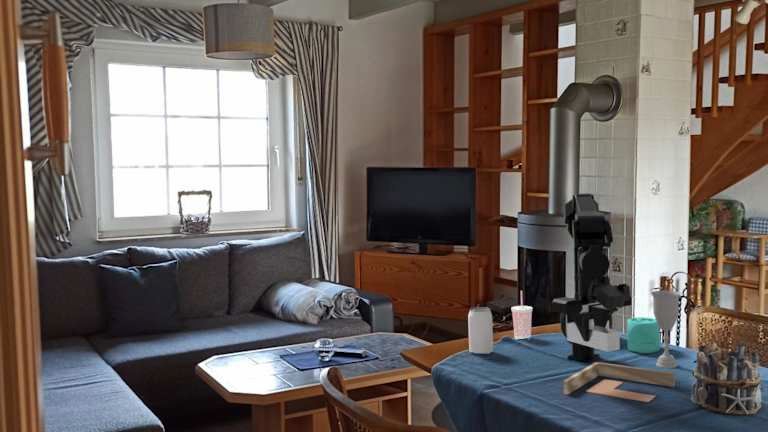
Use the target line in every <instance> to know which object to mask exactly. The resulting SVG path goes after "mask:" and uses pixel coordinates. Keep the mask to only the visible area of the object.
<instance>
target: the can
mask: <svg viewBox="0 0 768 432" xmlns="http://www.w3.org/2000/svg"><path fill="white" fill-rule="evenodd" d="M467 318H468V319H467V321H468V322H467V323H468V325H467V326H468V352H469V353H470V352H474V353H491V352H492V353H493V352H494V340H493V339H494V337H493V334H494V333H493V332H494V331H493V315H492V311H491V308H489V307H485V306H484V307H483V306H477V307H476V306H475V307H470V308H469V312H468V315H467ZM492 353H491V354H492Z"/></svg>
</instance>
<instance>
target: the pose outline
mask: <svg viewBox="0 0 768 432" xmlns="http://www.w3.org/2000/svg"><path fill="white" fill-rule="evenodd" d="M622 384H624V382H623V381H618V380H617V381H616V380H612V379H603V380H600V381H599V382H598V383H596V384H595V385H593V386H591V387H590V388H588V389H587V390H586V391H585V393H590V394H596V395H601V396H608V397H614V398H620V399H626V400H633V401H639V402H644V403H649V402H651V401H652V400H654V399H655V398H656V396H657V395H654V394H653V395H652V394H646V393H640V392H636V391H635V392H634V391H628V390H623V389H622V390H621V389H617V388H618V387H619V386H621V385H622Z"/></svg>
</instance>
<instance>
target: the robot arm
mask: <svg viewBox="0 0 768 432" xmlns="http://www.w3.org/2000/svg"><path fill="white" fill-rule="evenodd" d="M594 196H595V195H594V194H591V193H575V194H572V196H571V199H570V200H568V201H567V203H565V204H564V209H563V223H564V225H566V230H567V233H568V234H569V235H570V237H571V239H572V240H573V242H572V243H573V246H572V247H573V277H574V279H573V280H574V281H573V286H574V287H573V288H574V291H573V292H574V296H573V297H568V296H565V297H558V298H557V297H556V298H554V299H553V300H552V301H551V312H555V313H558V314H560V313H562V314H566V334H567V323H572V322H575V324H576V326H577V328H578V330H579V332H580V334H581V336H582V338H583V340H584V341H585V342H588V339H589V320H591V319H593V321H594V325H595V326H600V327H604V328H605V327H606V324H607V322H608V319H609V317H610V315H612V316H613V314H614V313H616V312H617V311H619V309H622V308H623V307H628V306H629V307H630V306H632V296H631V289H630V288H631V287H630V285H629V284H627V283H620V284H618V285H613V284H611V279H610V276H609V275H606V274H607V273H608V271H609V270H610V263H611V262H610V260H609V258H608V256H607V254H606V253H605V250H604V247H605V248H610V247H611V246H612V244H611V243H613V242H614V241H613V240H614V239H613V231H612V225H611V223H610V221H609V220H608V219H606V216H605V214H604V213H603V212H600V206H599V203H598V202H597V201H596V200H595V197H594ZM595 349H596V348H592V347H589V346H585V345H582V344H578V343H574V342H571V354H570V355H567V357H566V359H568V360H573V361H581V362H589V363H590V362H593V361H595V360H597V359H598V358H599V357H601V356H600V353H599V354H597V353H596V351H595Z"/></svg>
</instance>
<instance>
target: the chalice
mask: <svg viewBox="0 0 768 432" xmlns="http://www.w3.org/2000/svg"><path fill="white" fill-rule="evenodd" d="M650 294H651V295H652V300H653V301H652V302H653V303H652V305H653V306H652V307H653V308H652V309H653V311H652V312H653V315H654V319H656V321H657V323H658V325H659V328H660V329H661V330H662V331H663V333H664V335H663V337H662V339H663V341H664V343H663V345H662V347H663V348H664V349H663V350H664V352H663V353H662V354H660V355H659V357H658V359H657V362H656V363H655V365H656V366H657V367H660V368H663V369H666V368H667V369H672V368H673V369H674V368H676V367H678V364H677V361H676V360H675V357H674V356H673V355H671V354H670V352H669V348H670V347H671V345H670V344H669V340H670V336H669V331H671V330H673V327H674V326H675V324H676V322H677V320H678V316H679V312H680V310H679V309H680V308H679V305H680V304H679V303H680V302H679V299H680V296H681V294H682V293H681V292H679V291H674V290H654V291H651V292H650Z"/></svg>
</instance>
